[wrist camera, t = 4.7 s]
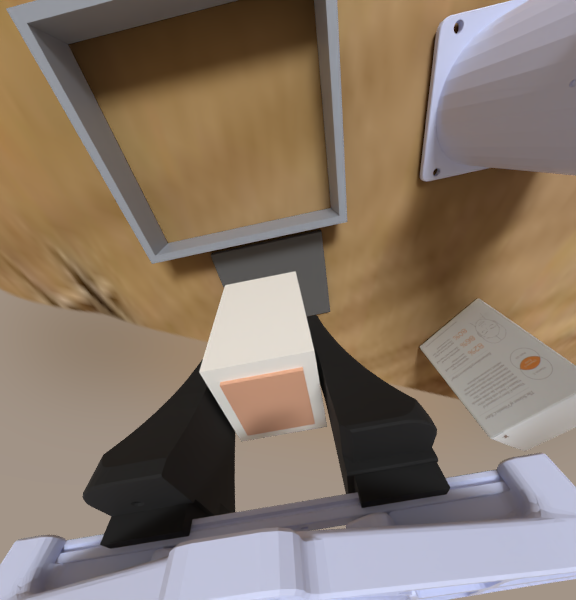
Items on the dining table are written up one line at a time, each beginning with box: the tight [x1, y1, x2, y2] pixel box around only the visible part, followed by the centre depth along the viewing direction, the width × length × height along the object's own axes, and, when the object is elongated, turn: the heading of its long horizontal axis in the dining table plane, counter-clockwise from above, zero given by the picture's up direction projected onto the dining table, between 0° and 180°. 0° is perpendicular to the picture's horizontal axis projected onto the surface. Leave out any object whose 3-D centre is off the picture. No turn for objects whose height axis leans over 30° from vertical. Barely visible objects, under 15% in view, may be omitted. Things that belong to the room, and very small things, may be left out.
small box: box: [420, 299, 576, 451], centre depth 22 cm, size 8×6×10 cm
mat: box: [211, 230, 330, 316], centre depth 21 cm, size 9×8×1 cm
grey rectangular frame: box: [7, 0, 347, 264], centre depth 14 cm, size 14×12×2 cm
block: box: [199, 271, 327, 442], centre depth 12 cm, size 4×5×6 cm
